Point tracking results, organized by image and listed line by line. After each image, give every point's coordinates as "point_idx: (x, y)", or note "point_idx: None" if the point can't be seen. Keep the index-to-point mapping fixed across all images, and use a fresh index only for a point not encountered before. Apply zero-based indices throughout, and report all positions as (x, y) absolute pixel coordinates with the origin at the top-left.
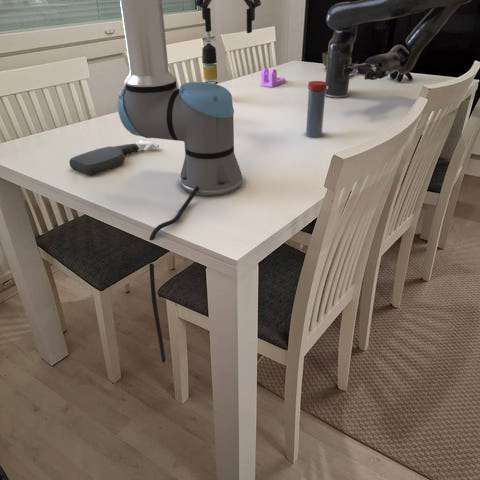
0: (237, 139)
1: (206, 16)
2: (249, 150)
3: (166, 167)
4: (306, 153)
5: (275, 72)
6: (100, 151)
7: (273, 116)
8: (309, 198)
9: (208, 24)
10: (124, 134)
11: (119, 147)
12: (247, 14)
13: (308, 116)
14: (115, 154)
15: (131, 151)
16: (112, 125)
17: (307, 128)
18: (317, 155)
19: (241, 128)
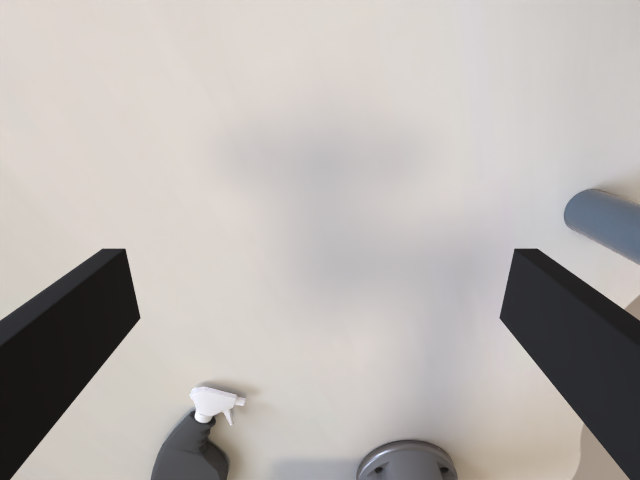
0: (388, 294)
1: (47, 418)
2: (433, 346)
3: (305, 447)
4: None
5: None
6: (172, 473)
7: (448, 57)
8: (561, 476)
9: (103, 336)
10: None
11: (189, 448)
12: (615, 448)
13: (606, 246)
14: (209, 477)
15: (209, 431)
16: (17, 288)
17: (580, 231)
18: None
19: (373, 213)
